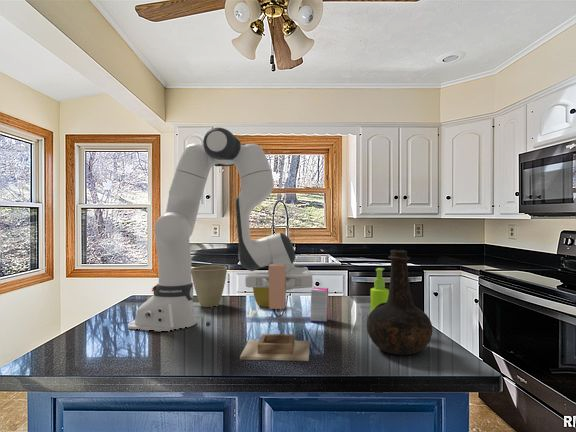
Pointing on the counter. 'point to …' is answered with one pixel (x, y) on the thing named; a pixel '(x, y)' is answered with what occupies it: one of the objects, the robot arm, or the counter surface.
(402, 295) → the glass bottle
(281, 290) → the block
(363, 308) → the counter surface
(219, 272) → the plant pot
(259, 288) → the flower pot
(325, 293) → the supplement box
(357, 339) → the counter surface
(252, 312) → the butter knife
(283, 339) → the housing
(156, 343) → the counter surface
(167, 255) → the robot arm
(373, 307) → the soap dispenser
